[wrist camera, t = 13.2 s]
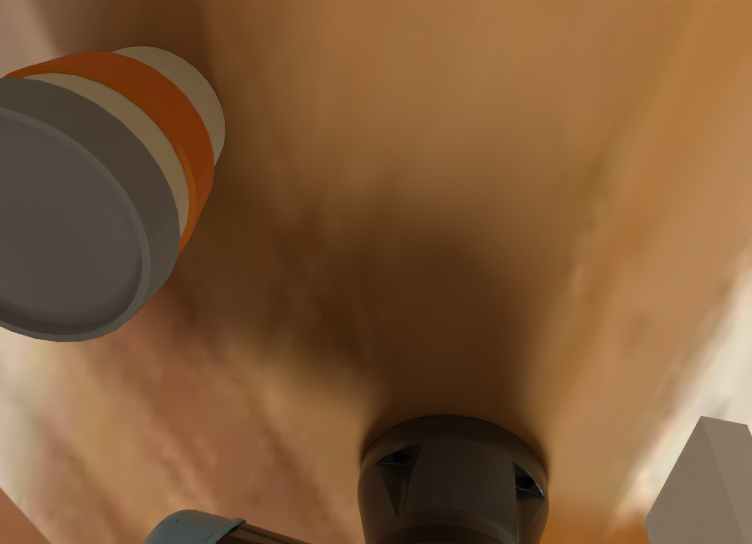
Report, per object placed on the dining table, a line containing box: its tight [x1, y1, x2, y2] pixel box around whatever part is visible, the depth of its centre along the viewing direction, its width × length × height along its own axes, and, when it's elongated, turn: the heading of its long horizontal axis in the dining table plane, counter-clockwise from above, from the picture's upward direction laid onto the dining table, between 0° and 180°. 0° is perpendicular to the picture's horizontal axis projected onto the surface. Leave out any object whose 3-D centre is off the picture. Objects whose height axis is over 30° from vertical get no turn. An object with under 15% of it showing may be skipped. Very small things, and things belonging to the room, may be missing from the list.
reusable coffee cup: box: [0, 46, 225, 342], centre depth 38 cm, size 13×13×15 cm
